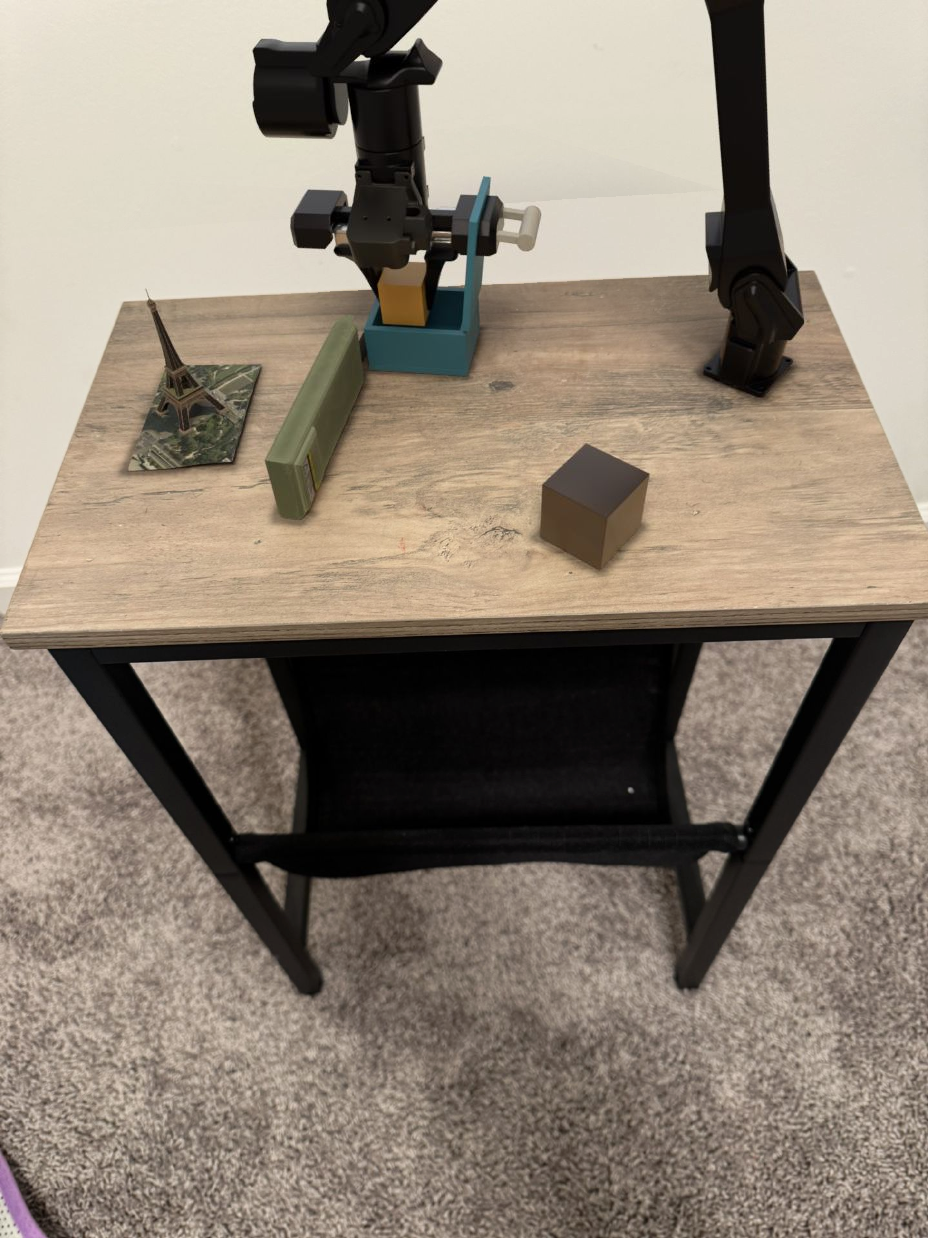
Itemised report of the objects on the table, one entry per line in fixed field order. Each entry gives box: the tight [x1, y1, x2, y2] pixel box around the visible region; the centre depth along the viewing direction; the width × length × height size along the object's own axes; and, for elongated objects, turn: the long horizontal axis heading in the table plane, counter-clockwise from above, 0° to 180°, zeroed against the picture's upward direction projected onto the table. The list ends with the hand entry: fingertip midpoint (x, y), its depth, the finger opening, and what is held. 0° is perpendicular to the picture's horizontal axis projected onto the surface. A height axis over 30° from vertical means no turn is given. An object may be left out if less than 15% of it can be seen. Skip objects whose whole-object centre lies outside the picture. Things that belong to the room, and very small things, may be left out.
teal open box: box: [363, 285, 481, 377], centre depth 83 cm, size 10×8×5 cm
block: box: [378, 261, 430, 326], centre depth 80 cm, size 4×4×4 cm
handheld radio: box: [264, 314, 368, 521], centre depth 76 cm, size 7×3×25 cm
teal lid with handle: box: [462, 175, 542, 332], centre depth 76 cm, size 11×8×6 cm
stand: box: [539, 442, 651, 571], centre depth 66 cm, size 6×6×6 cm
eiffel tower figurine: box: [126, 288, 262, 472], centre depth 75 cm, size 15×10×13 cm
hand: (407, 306), depth 81 cm, fingers closed on block, 4 cm apart
